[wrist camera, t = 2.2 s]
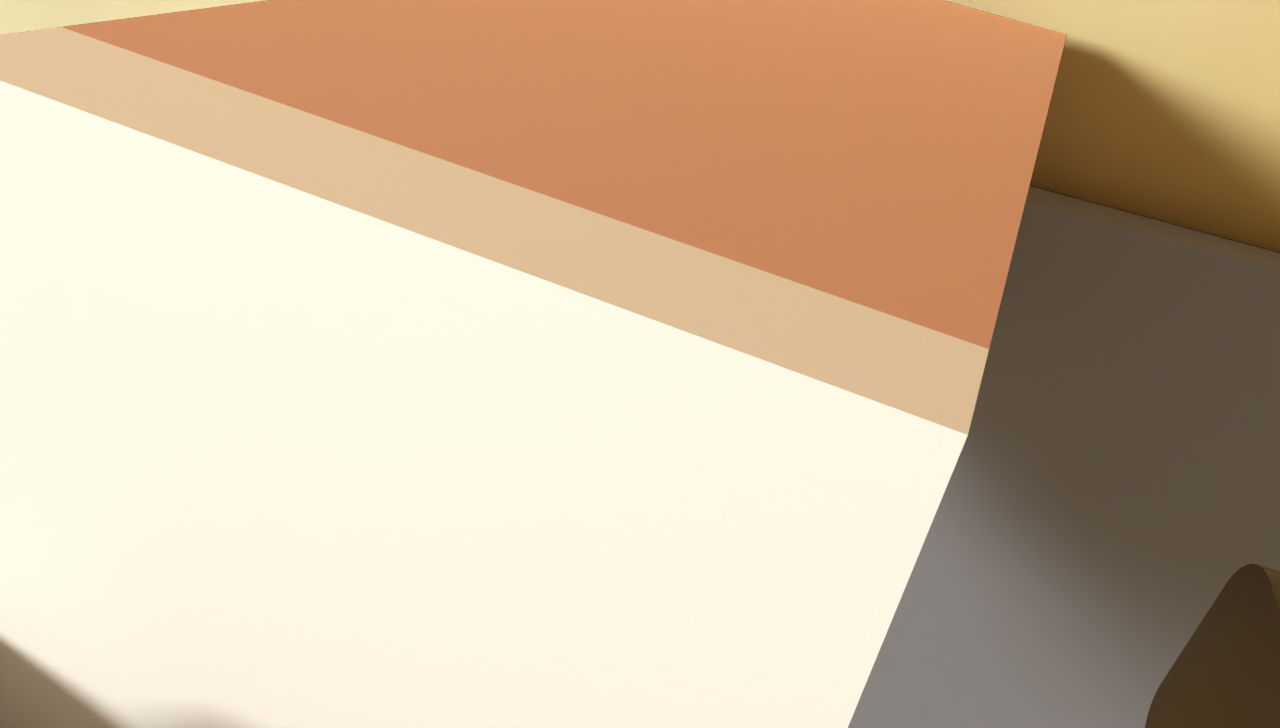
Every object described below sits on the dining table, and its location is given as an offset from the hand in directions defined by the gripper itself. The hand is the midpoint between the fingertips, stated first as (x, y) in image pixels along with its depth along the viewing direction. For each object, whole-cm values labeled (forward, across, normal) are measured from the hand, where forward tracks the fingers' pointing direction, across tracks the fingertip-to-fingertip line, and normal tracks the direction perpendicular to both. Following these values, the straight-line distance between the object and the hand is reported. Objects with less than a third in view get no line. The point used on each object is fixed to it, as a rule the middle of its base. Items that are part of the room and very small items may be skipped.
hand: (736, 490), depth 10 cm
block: (+7, 0, 0) cm, 7 cm away
